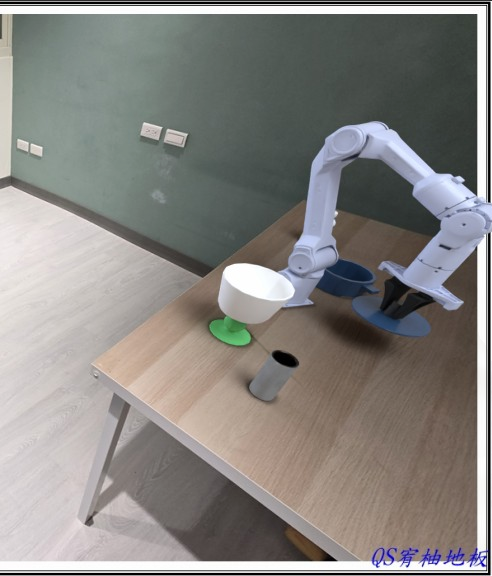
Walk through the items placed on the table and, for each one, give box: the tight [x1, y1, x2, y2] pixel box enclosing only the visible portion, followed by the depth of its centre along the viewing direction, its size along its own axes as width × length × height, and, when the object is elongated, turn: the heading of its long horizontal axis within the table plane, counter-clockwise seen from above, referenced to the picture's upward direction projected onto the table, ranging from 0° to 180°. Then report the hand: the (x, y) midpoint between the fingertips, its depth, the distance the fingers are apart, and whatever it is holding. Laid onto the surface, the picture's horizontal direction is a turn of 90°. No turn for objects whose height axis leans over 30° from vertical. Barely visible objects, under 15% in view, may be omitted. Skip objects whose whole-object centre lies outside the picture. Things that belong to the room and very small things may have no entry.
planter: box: [248, 349, 300, 402], centre depth 74 cm, size 4×4×10 cm
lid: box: [350, 295, 432, 338], centre depth 82 cm, size 13×13×5 cm
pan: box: [315, 257, 381, 298], centre depth 105 cm, size 12×18×5 cm
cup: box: [208, 262, 295, 347], centre depth 86 cm, size 14×14×16 cm
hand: (390, 313), depth 83 cm, fingers closed on lid, 2 cm apart
